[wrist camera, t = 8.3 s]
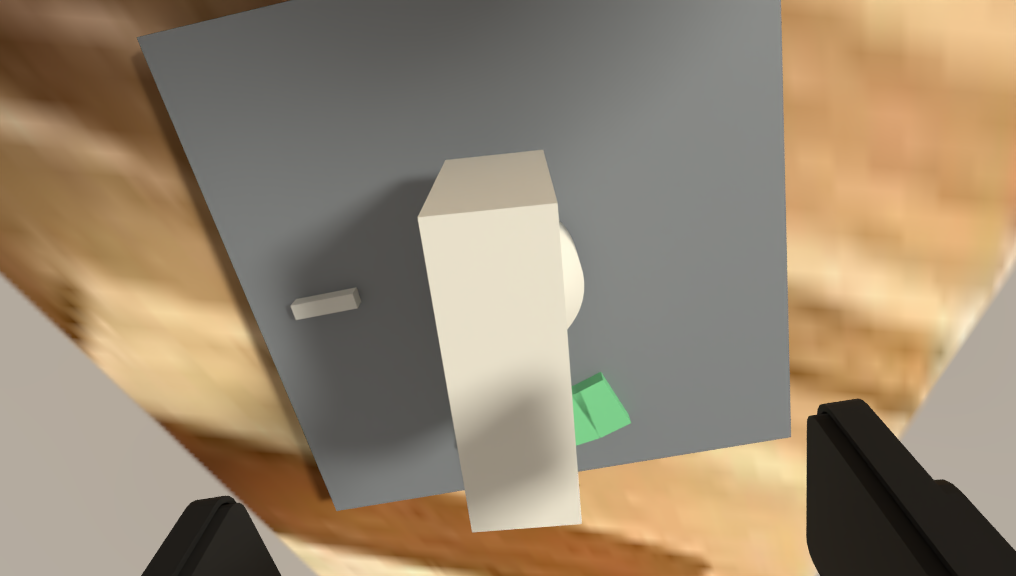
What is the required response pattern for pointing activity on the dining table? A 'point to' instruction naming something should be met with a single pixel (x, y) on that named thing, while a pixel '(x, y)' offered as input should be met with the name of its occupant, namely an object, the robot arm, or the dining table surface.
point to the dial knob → (506, 335)
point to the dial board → (490, 131)
